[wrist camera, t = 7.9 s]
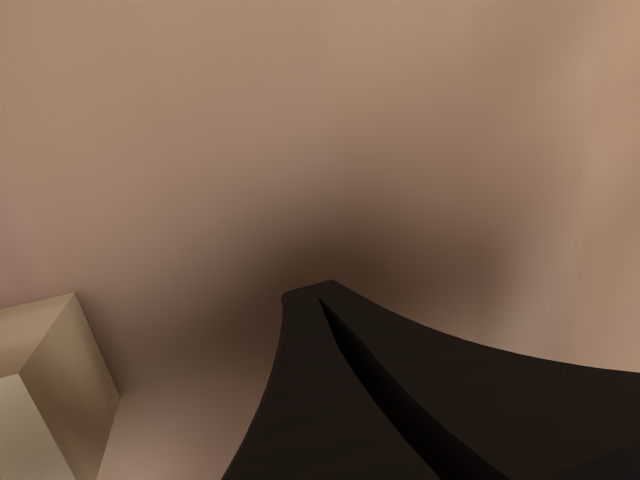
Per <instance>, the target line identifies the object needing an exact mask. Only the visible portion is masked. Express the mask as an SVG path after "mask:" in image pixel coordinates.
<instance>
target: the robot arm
mask: <svg viewBox="0 0 640 480" xmlns="http://www.w3.org/2000/svg"><path fill="white" fill-rule="evenodd" d="M281 301H282V305H283V317H282V326H281V333H280V339H279V344H278V348H277V352H276V356H275V360H274V364H273V368H272V371H271V374H270V377H269V380H268V383H267V386H266V389H265V391H264V394H263V397H262V399H261V402H260V404H259V407H258V409H257V411H256V413H255V416H254V418H253V420H252V422H251V425H250V427H249V429H248V431H247V433H246V435H245V437H244V439H243V441H242V443H241V445H240V447H239V449H238V451H237V453H236V454H235V456H234V458H233V460H232V462H231V463H230V465H229V467H228V469H227V470H226V472H225V474H224V476H223V477H222V479H221V480H640V373H637V372H628V371H619V370H610V369H601V368H594V367H587V366H581V365H575V364H569V363H563V362H557V361H551V360H546V359H541V358H536V357H531V356H526V355H521V354H517V353H513V352H509V351H504V350H500V349H496V348H492V347H488V346H484V345H481V344H477V343H474V342H470V341H467V340H464V339H461V338H458V337H455V336H452V335H449V334H446V333H443V332H440V331H437V330H434V329H431V328H429V327H426V326H423V325H421V324H419V323H416V322H414V321H412V320H409V319H407V318H405V317H402V316H400V315H398V314H396V313H394V312H392V311H389V310H387V309H385V308H383V307H381V306H379V305H377V304H375V303H373V302H372V301H370V300H368V299H366V298H364V297H362V296H360V295H359V294H357V293H355V292H353V291H351V290H350V289H348V288H346V287H344V286H343V285H341V284H339V283H337V282H335V281H333V280H329V281H325V282H322V283H318V284H314V285H310V286H306V287H303V288H299V289H295V290H291V291H287V292H284V294H283V295H282V297H281Z"/></svg>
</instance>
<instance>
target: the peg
mask: <svg viewBox="0 0 640 480" xmlns="http://www.w3.org/2000/svg"><path fill="white" fill-rule="evenodd" d="M119 400H120V396H119V393H118V391H117V389H116V387H115V384H114V382H113V380H112V377H111V375H110V373H109V370H108V368H107V366H106V364H105V361H104V359H103V357H102V354H101V352H100V350H99V347H98V345H97V343H96V341H95V338H94V336H93V334H92V331H91V329H90V327H89V325H88V322H87V320H86V318H85V315H84V313H83V311H82V308H81V306H80V304H79V302H78V299H77V297H76V295H75V292H73V293H68V294H64V295H60V296H55V297H51V298H47V299H42V300H38V301H33V302H29V303H25V304H20V305H16V306H12V307H7V308H3V309H0V480H96V478H97V475H98V471H99V468H100V464H101V461H102V458H103V454H104V451H105V447H106V444H107V441H108V437H109V434H110V430H111V427H112V424H113V420H114V417H115V413H116V410H117V407H118V403H119Z"/></svg>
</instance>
